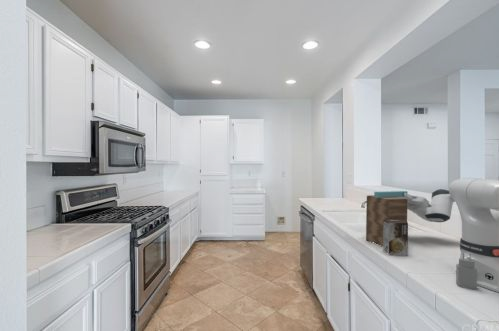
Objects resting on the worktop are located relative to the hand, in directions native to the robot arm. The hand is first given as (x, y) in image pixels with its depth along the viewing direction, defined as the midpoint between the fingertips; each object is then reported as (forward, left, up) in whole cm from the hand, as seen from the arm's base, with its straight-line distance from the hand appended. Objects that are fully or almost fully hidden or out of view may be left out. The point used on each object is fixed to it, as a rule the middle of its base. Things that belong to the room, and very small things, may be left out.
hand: (400, 193), depth 140 cm
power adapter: (-46, +22, -28) cm, 58 cm away
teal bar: (0, +7, -2) cm, 7 cm away
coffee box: (-13, +18, -28) cm, 36 cm away
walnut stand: (0, +10, -28) cm, 30 cm away
